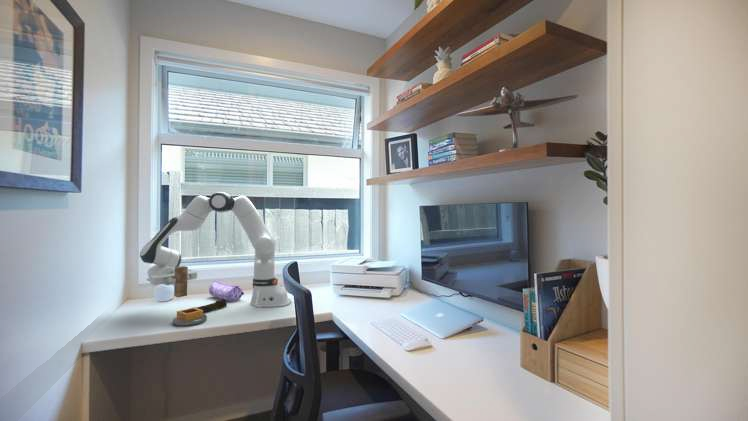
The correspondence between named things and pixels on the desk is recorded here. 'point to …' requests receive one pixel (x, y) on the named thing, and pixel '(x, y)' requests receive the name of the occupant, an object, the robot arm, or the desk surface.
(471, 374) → the desk surface
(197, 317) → the collar base
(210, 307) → the hand tool
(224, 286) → the pencil case
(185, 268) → the brown wooden block
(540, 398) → the desk surface
